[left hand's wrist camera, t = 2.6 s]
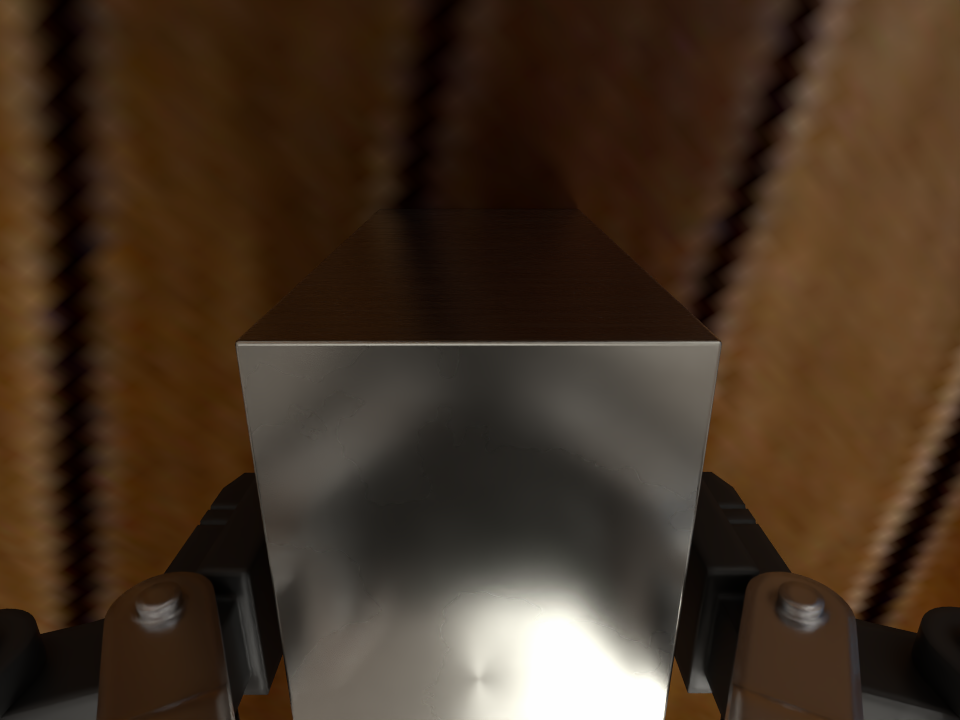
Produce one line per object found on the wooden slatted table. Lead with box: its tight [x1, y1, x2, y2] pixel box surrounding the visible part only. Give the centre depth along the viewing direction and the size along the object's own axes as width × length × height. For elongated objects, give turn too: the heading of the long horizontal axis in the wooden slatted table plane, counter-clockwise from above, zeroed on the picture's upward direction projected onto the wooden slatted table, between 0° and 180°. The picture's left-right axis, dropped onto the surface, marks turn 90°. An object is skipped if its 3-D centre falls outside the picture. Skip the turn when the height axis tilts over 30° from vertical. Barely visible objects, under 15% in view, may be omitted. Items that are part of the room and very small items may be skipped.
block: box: [235, 209, 722, 720], centre depth 12 cm, size 5×9×10 cm, turn 0°
